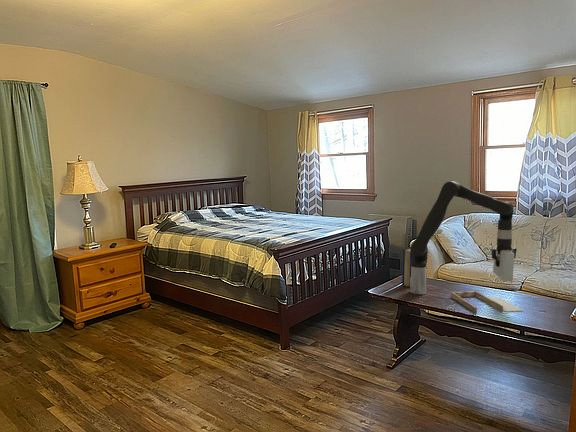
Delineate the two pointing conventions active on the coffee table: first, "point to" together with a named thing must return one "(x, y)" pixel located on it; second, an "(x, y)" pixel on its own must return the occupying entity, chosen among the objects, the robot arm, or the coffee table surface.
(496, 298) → the beige flat board
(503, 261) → the skincare box
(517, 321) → the coffee table surface
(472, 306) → the wooden u-shaped frame
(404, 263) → the book
